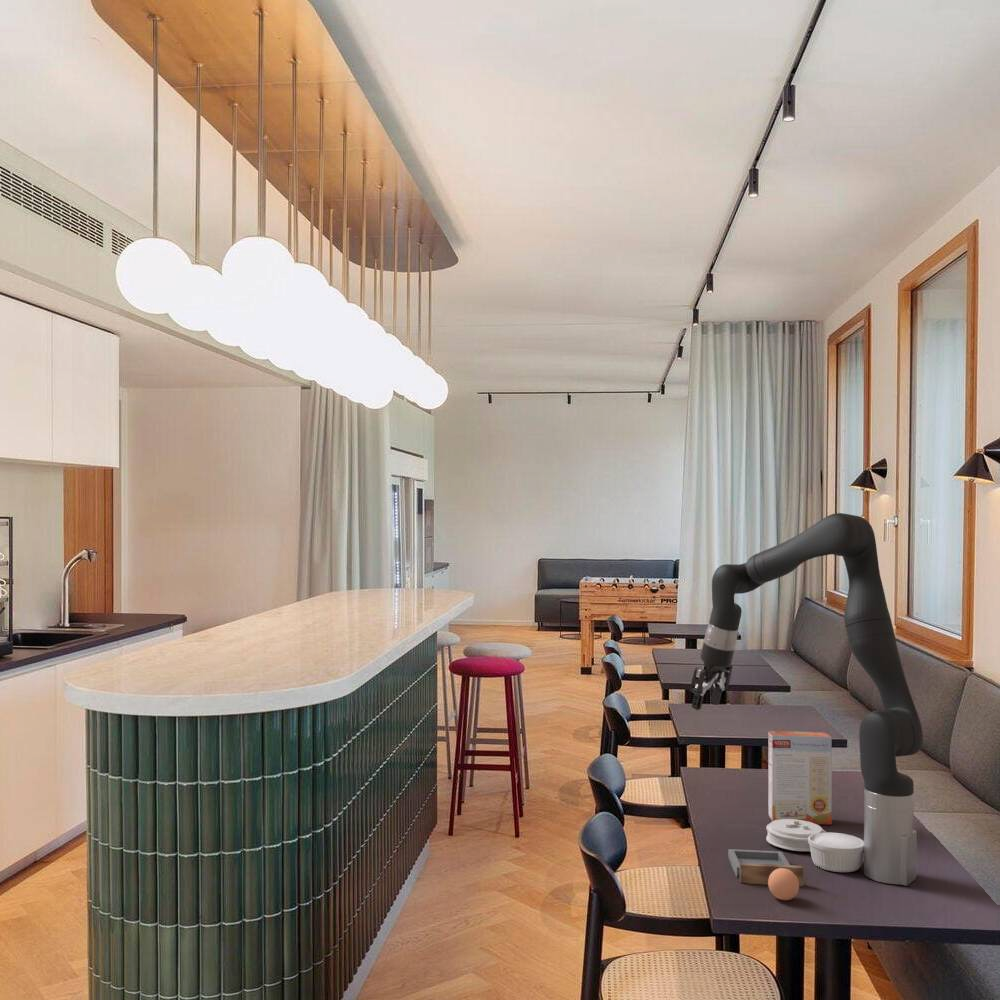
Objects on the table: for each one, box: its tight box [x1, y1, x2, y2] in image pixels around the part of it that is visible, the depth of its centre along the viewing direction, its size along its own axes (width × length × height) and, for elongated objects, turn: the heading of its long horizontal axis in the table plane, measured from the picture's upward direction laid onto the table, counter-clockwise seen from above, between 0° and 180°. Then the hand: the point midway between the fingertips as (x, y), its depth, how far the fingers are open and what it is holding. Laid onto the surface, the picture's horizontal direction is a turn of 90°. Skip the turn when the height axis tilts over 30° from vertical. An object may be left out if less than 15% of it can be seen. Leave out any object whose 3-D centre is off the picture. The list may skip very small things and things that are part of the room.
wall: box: [739, 863, 804, 886], centre depth 188 cm, size 12×1×4 cm, turn 85°
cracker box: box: [767, 730, 833, 826], centre depth 230 cm, size 14×6×21 cm, turn 84°
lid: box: [765, 819, 827, 852], centre depth 212 cm, size 13×13×5 cm
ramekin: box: [808, 832, 864, 873], centre depth 199 cm, size 11×11×5 cm
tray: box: [727, 848, 791, 879], centre depth 196 cm, size 11×11×2 cm
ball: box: [767, 868, 800, 901], centre depth 180 cm, size 6×6×6 cm
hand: (705, 706), depth 235 cm, fingers open, 8 cm apart
